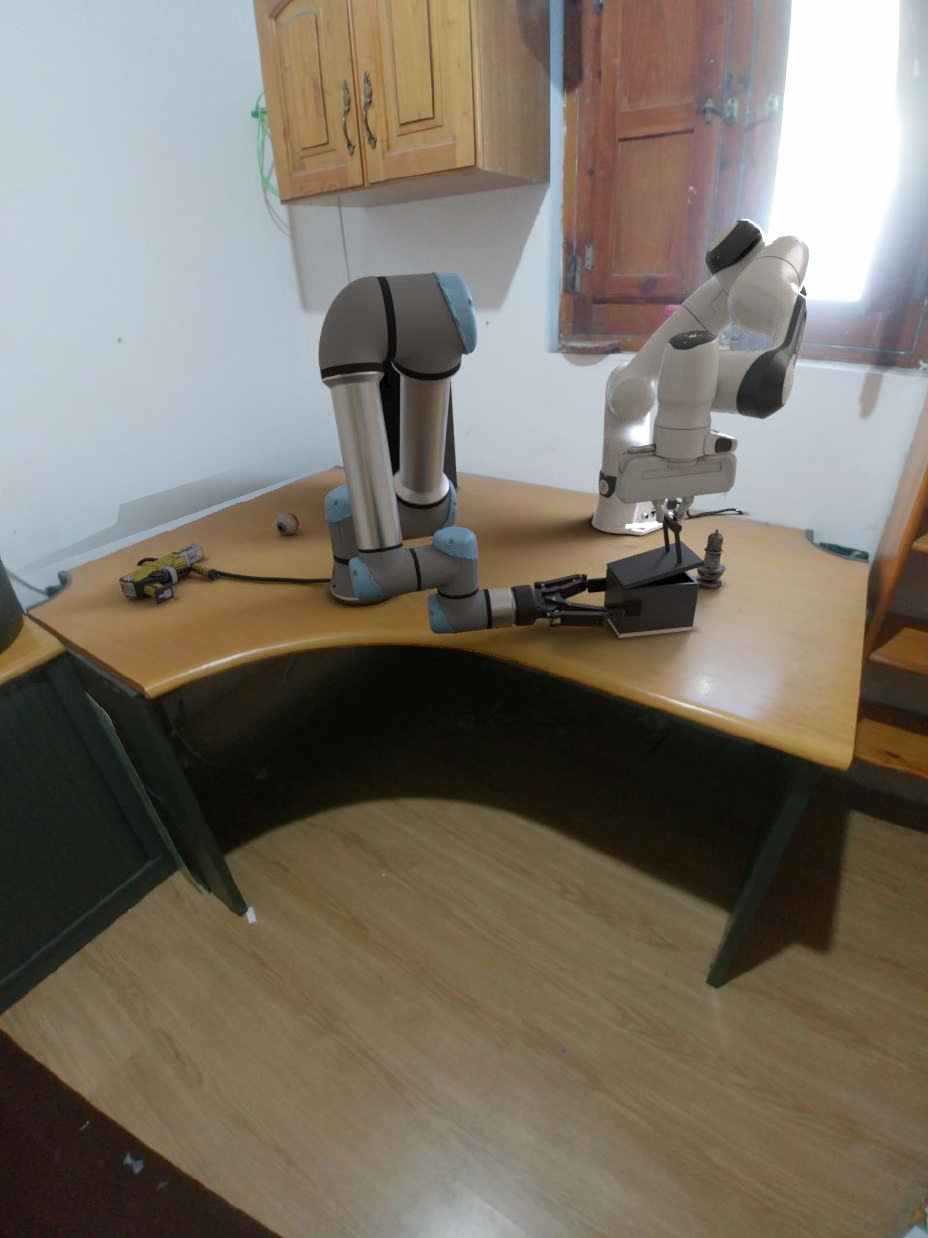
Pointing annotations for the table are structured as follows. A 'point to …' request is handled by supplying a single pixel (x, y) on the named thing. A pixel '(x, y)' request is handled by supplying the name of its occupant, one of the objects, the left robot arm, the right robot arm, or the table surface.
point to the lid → (656, 561)
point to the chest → (655, 605)
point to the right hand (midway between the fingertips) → (670, 520)
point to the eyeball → (287, 523)
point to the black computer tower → (392, 422)
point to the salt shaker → (712, 562)
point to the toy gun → (164, 574)
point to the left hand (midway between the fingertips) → (630, 594)
